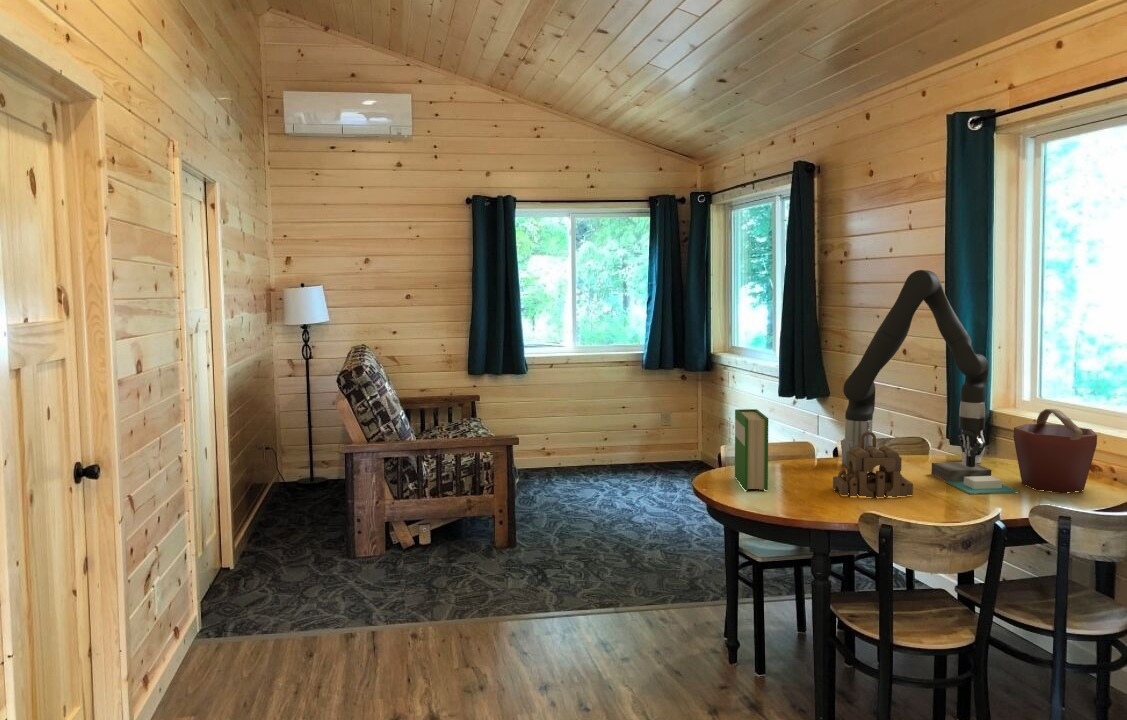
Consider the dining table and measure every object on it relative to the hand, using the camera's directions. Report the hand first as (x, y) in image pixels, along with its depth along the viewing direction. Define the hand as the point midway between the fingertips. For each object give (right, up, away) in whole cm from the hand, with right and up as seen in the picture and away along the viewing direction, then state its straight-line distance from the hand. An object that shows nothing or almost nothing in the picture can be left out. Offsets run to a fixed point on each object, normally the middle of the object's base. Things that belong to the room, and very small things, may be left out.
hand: (970, 466), depth 265 cm
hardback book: (-72, -7, +2) cm, 73 cm away
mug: (+15, -2, +26) cm, 30 cm away
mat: (0, -6, -7) cm, 9 cm away
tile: (0, -4, -7) cm, 8 cm away
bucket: (+22, -6, -7) cm, 24 cm away
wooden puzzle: (-36, -7, -10) cm, 38 cm away
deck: (0, -5, +6) cm, 7 cm away
